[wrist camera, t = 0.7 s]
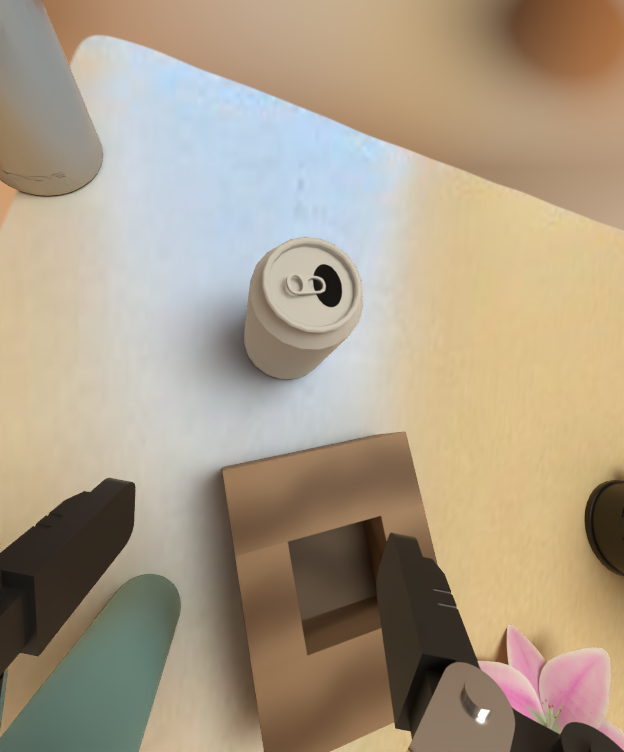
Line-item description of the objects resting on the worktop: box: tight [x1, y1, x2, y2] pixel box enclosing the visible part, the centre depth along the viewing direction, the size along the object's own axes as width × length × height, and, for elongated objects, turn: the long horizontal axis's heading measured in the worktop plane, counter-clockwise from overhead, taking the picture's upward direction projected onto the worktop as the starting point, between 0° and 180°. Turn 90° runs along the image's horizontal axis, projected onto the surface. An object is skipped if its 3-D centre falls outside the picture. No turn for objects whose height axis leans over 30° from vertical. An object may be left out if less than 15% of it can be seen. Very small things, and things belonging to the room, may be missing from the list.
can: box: [244, 237, 363, 379], centre depth 26 cm, size 8×8×12 cm
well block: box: [222, 432, 437, 752], centre depth 26 cm, size 18×14×6 cm
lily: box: [478, 624, 624, 751], centre depth 27 cm, size 12×12×10 cm
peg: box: [0, 574, 181, 752], centre depth 18 cm, size 5×5×16 cm
